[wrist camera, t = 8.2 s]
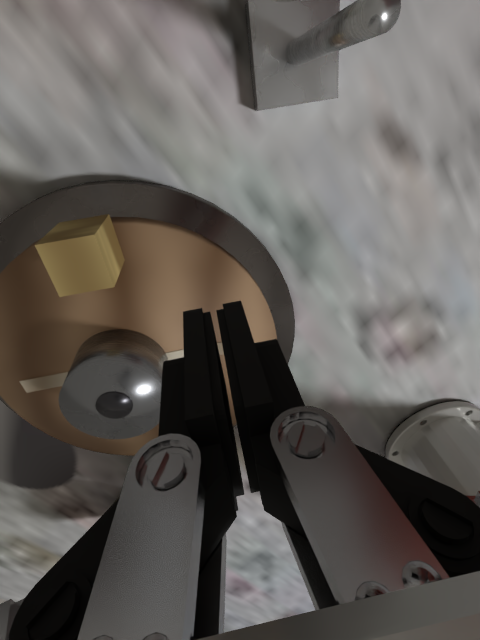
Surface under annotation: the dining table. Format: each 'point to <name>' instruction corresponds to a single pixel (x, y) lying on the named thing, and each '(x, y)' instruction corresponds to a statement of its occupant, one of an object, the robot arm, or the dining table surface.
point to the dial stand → (307, 45)
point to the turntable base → (162, 205)
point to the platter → (109, 307)
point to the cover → (114, 385)
